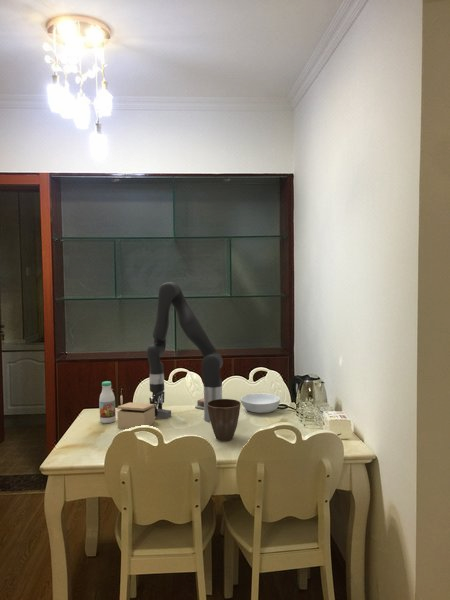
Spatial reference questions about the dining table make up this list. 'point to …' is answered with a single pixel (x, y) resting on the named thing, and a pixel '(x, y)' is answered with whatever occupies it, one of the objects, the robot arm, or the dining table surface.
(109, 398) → the milk bottle
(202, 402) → the packaged product
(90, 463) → the dining table surface
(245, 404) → the serving bowl
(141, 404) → the lid
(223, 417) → the plant pot
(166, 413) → the grey rectangular bar
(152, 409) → the box
